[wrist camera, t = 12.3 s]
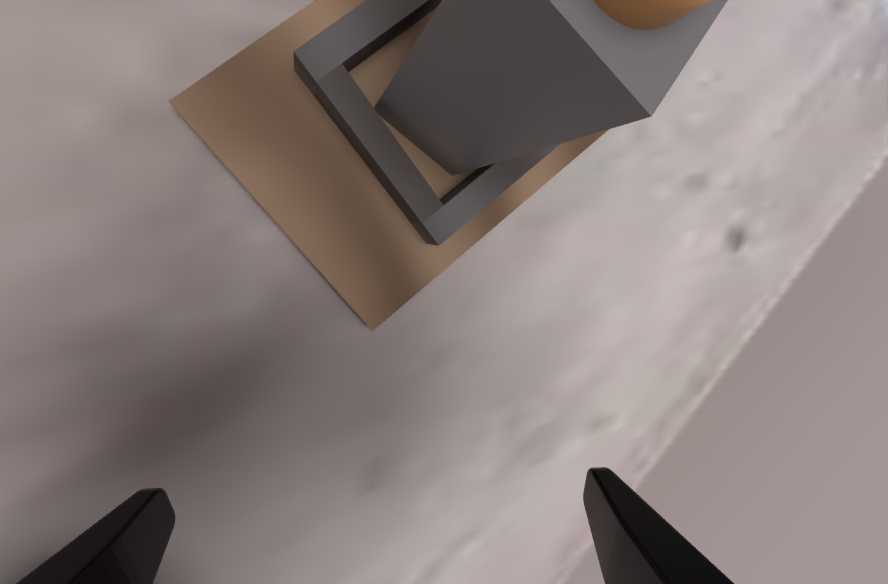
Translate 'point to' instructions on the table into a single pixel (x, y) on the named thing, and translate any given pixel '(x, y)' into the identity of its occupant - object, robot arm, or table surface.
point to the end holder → (353, 152)
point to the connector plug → (537, 73)
